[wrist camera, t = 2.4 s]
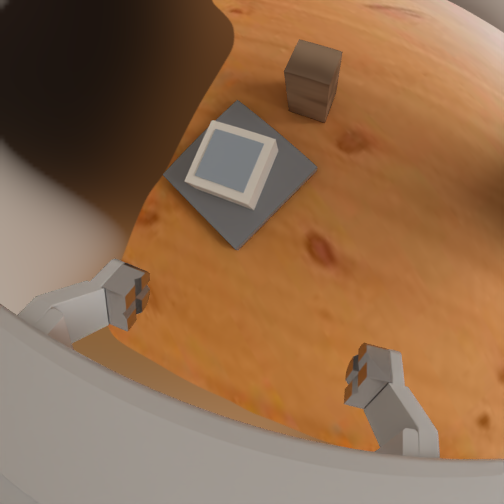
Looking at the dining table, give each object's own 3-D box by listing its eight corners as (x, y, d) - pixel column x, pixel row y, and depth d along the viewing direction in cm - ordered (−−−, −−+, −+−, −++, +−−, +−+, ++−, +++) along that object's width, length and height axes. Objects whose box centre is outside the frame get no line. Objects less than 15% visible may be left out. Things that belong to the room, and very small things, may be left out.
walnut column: (301, 82, 40) (299, 39, 30) (335, 93, 39) (342, 51, 29) (288, 110, 40) (284, 71, 30) (324, 122, 39) (329, 85, 29)
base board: (239, 104, 41) (230, 84, 35) (316, 170, 39) (319, 156, 33) (166, 177, 42) (148, 166, 36) (238, 250, 40) (227, 248, 35)
